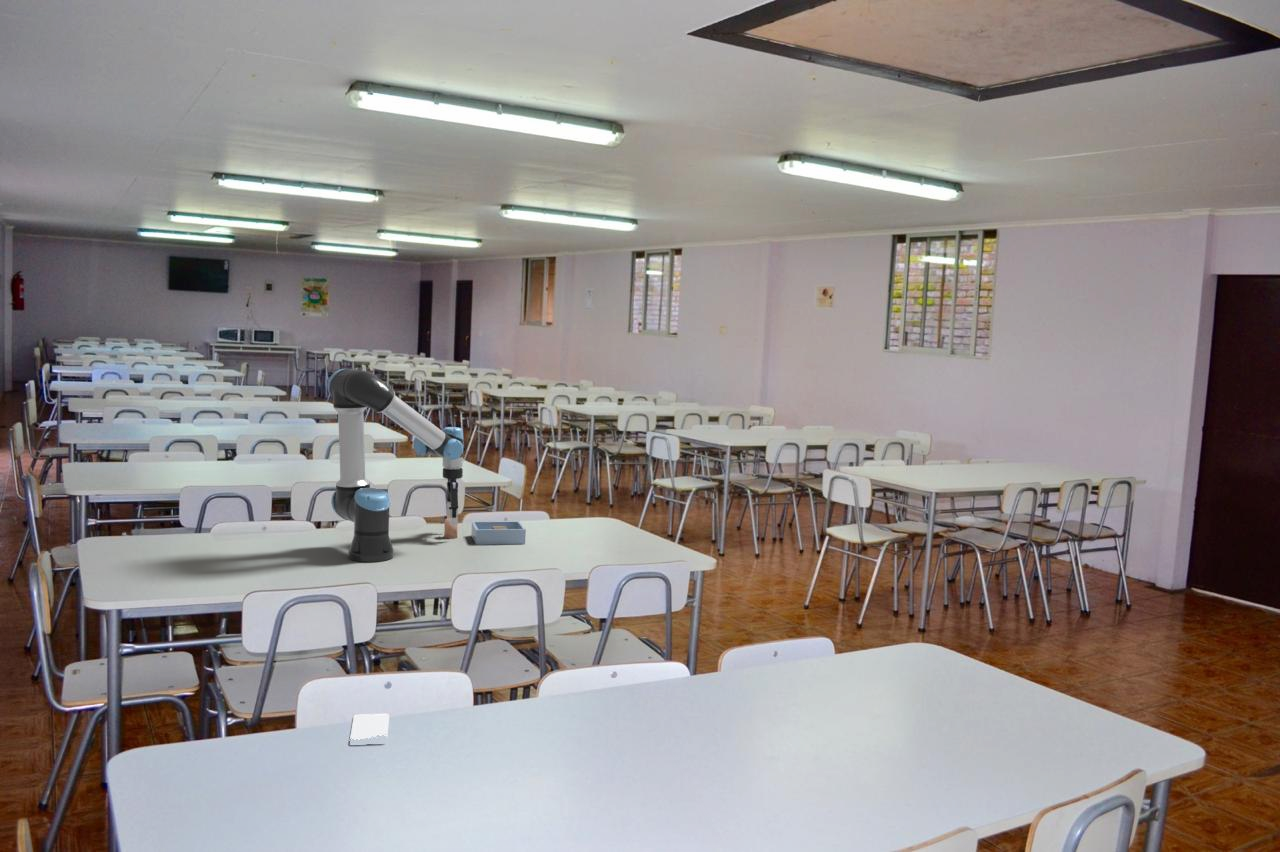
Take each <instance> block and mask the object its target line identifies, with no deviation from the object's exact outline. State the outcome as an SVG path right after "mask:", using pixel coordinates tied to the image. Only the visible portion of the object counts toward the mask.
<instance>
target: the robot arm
mask: <svg viewBox="0 0 1280 852" xmlns="http://www.w3.org/2000/svg"><path fill="white" fill-rule="evenodd" d="M327 391H328V394H329V395H330V397H331V398H332V399H333V400H332V401H333V402H332V403H333V409H334V410H335V411H336V412H337V413H338V414H337V415H338V416H337V418H338V444H339V445H338V448H339V449H338V450H339V475H340V479H338V481H337V482H336V484H335V491H334V492H333V494H332V495H331V508H332V510H333V511H334V513H335V514H336V515H337V516H339V517H340V518H342V519H343V520H345V521H346V520H347V521H350V522H352V523H354V524H353V526H354V528H353V529H354V530H353V533H354V534H353V537H352V540H351V542H350V543H351V544H350V546H349V549H348V558H349V559H350V560H352V561H356V562H362V563H363V562H365V563H371V562H372V563H374V562H375V563H376V562H385V561H388V560H391V559H393V558H394V548H393V544H392V541H391V537H390V533H389V531H390V506H391V501H390V495H389V493H388V492H387V491H385V490H383V489H381V488H374V487H371V482H370V481H369V480H368V479H367V478H366V462H365V461H366V457H365V427H364V426H365V423H364V422H365V420H364V419H365V418H364V412H365V411H366V410H367V408H369V409H371V410H373V411H374V412H375V413H377V414H380V413H381V414H383V415H385V416H386V417H388V418H389V420H391V421H393V422H394V423H395V424H397V425H398V426H399V427H401V428H402V429H404V430H405V431H406V432H407V433H409V434H410V435H412V436H413V437H414V438H413V442H412V443H413V444H412V445H413V447H412V448H413V450H414V451H413V452H415V454H416V455H418V456H428V455H429V456H430V455H431V456H433V457H439V458H442V467H443V468H442V478H443V479H446V480H447V482H446V501H447V502H446V504H447V505H446V519H448V518H450V526H457V522H458V521H459V518H458V514H459V513H458V511H459V495H458V493H459V482H457V479H458V480H459V479H462V478H463V475H464V474H463V473H464V472H463V470H464V469H463V468H462V467H463V463H464V461H465V458H463V457H464V456H463V455H464V433H463V429H462V428H461V427H456V426H447V427H444V428H443V429H440V428H439V427H438V426H436V425H435V424H434V423H432V422H431V421H429V420H428V419H427V418H426V417H424V416H423V415H422V414H420V413H419V412H418V411H417V410H415V409H414V408H413V407H411V405H408V404H407V403H406V402H404V401H403V400H402V399H401V398H400V397H398V396H397V395H396V393H395V390H394V389H393V388H391V387H390V386H388V385H387V384H386V383H385V382H383V381H382V380H381V379H380V378H379V377H377V376H376V375H374V374H373V373H371V372H369V371H367V370H360V369H354V368H341V369H338V370H336V371H334V372H333V373H332V374H331V376H330V377H329V378H328V382H327ZM458 523H459V522H458Z"/></svg>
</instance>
